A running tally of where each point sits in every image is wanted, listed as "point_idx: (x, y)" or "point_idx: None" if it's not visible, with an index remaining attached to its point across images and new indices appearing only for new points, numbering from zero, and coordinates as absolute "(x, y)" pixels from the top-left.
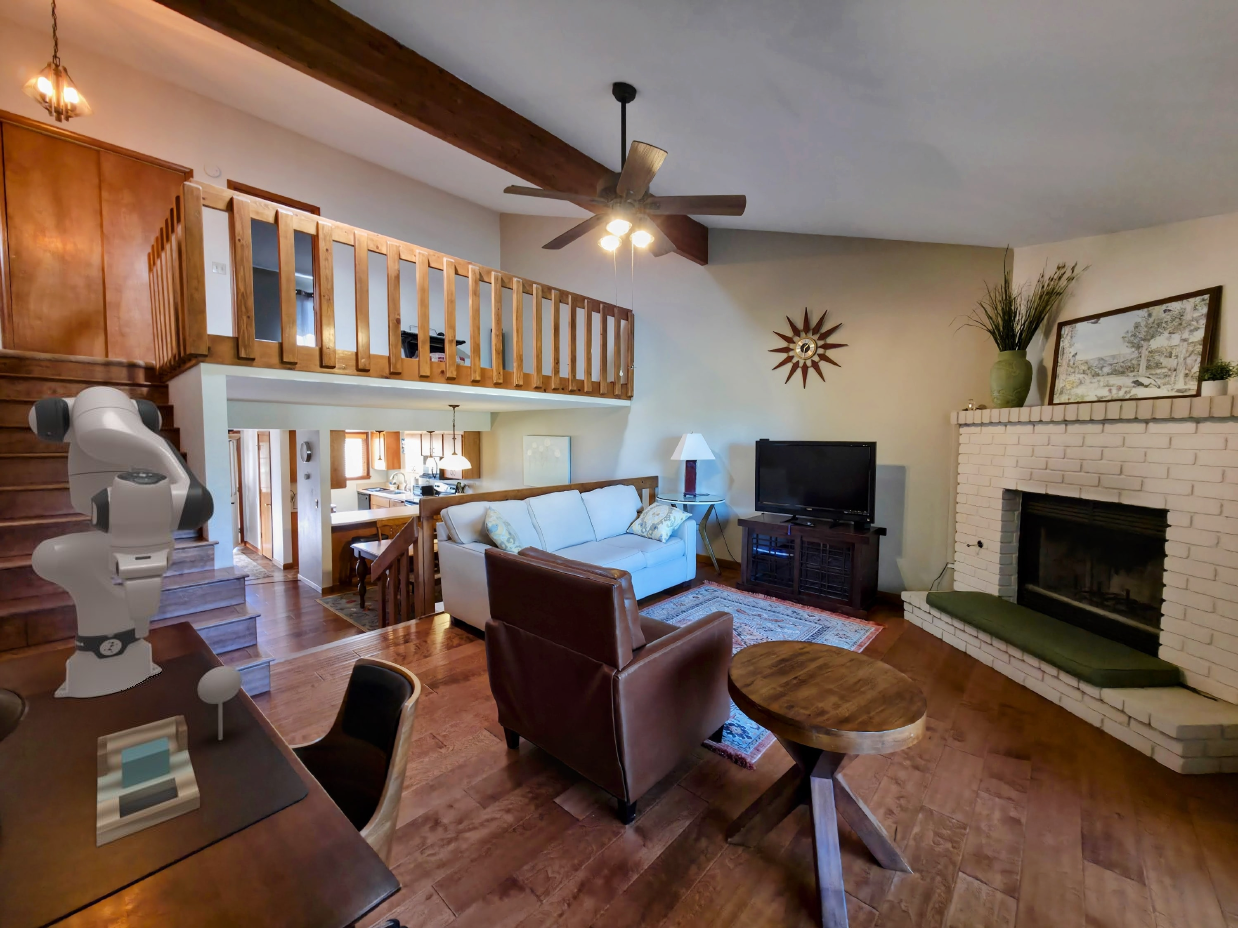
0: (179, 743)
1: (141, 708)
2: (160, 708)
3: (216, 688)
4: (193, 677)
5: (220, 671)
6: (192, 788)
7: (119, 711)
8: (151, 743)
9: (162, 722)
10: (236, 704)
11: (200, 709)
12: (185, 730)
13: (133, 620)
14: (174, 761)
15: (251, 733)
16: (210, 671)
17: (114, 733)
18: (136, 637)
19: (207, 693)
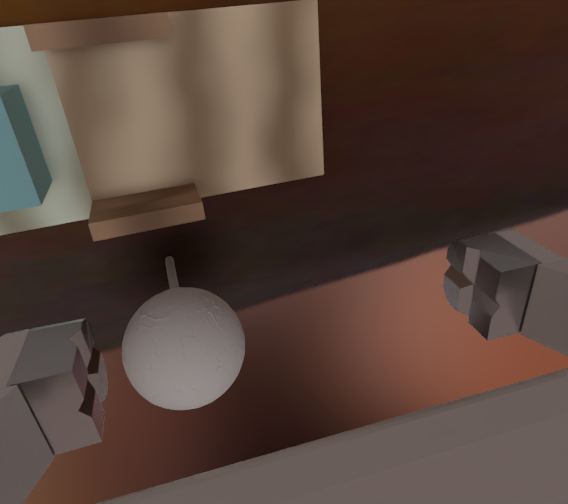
0: (91, 210)
1: (471, 77)
2: (437, 119)
3: (124, 356)
4: (557, 170)
5: (165, 390)
6: None
7: (493, 28)
8: (12, 171)
9: (305, 143)
10: (338, 269)
11: (365, 203)
12: (93, 235)
13: (476, 238)
14: None
15: None
16: (188, 362)
17: (316, 37)
18: (2, 337)
19: (129, 326)
